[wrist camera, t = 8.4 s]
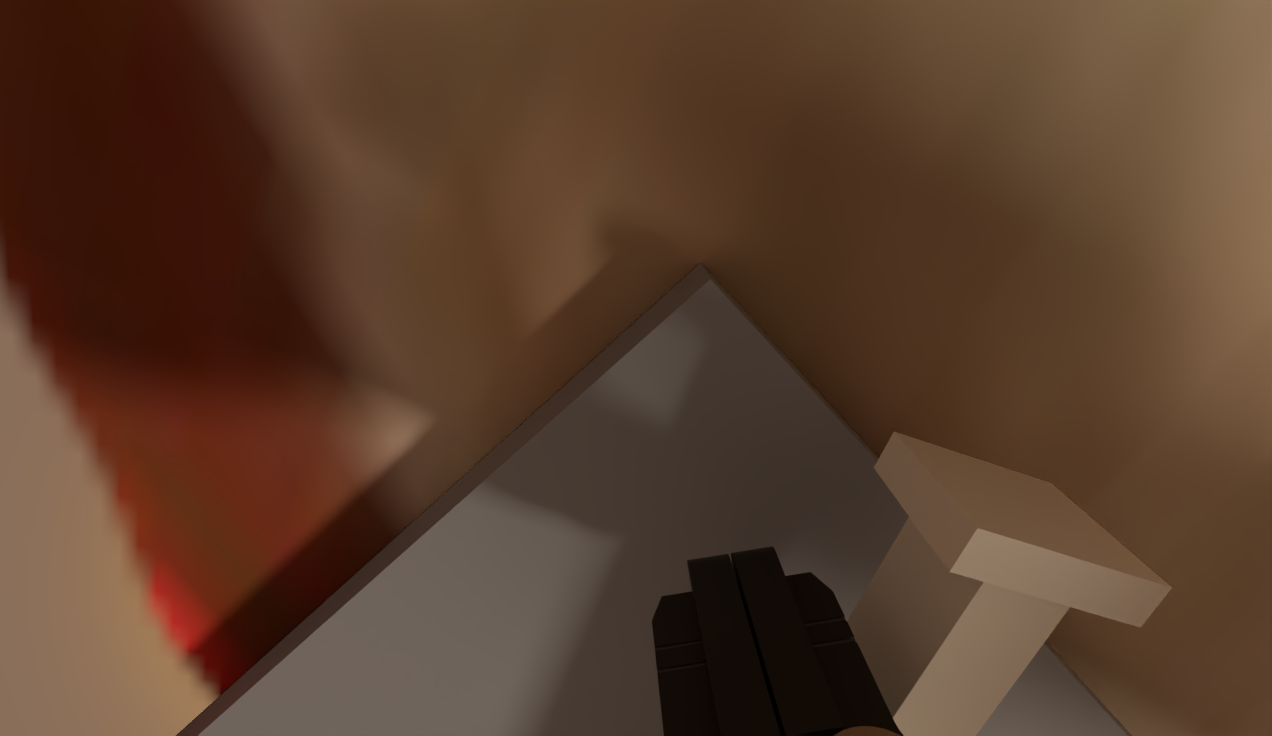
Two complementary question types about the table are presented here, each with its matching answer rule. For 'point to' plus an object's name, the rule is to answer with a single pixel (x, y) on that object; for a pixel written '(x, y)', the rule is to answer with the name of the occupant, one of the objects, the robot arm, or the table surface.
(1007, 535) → the lever with orange pointer
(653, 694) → the gauge board
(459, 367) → the table surface
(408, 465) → the table surface
